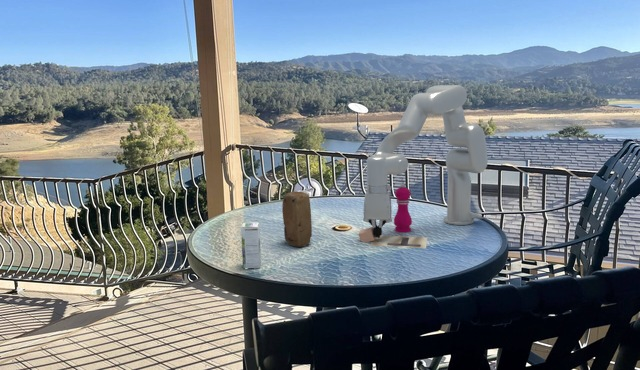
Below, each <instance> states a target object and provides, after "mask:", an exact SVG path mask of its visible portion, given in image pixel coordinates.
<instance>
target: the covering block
mask: <svg viewBox="0 0 640 370" xmlns="http://www.w3.org/2000/svg"><path fill="white" fill-rule="evenodd" d="M358 237H359V239H360V242H361V243H362V242H363V243H369V242H372V241H374V240H375V235H373V227H372V226H371V227H366V228H364V229H361V230H360V231H359V232H358Z"/></svg>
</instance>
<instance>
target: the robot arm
mask: <svg viewBox="0 0 640 370" xmlns="http://www.w3.org/2000/svg"><path fill="white" fill-rule="evenodd" d="M467 98H468V93H467V90H466V88H465V87H463V86H462V85H459V84H448V85H446V84H444V85H443V84H442V85H433V86H430V87H429V88H427V90H426V91H425V92H420V93H419V92H418V93H416V94H414V95H413V96H412V97H411V99H410V100H409V103H408V105H407V107H406V109H405V111H404V113H403V115H402V118H401V119H400V121H399V123H398V125H397V127H395V128H394V129H393V130H391V132H390V133H389V134H387V135H386V136H385V137H384V138H383V140H382V141H381V142H380V144H379V146H378V147H377V150H376V152H375V154H374V155H370V156H369V157H367V159H366V192H365V194H364V199H363V201H364V202H363V219H362V221H363V222H365V223H369V224H370V225H371V227H373V235H375V238H379V237H380V235H383V226H384V225H385V224H389V223H392V221H393V219H392V198H391V193H390V191H392V186H390V185H388V175H394V176H395V175H397V176H398V175H401V174H404V173H405V172H406V171H407V170H408V168H409V161H408V159H407V157H406V156H404V155H402V154H399V153H394V152H395V150H396V149H397V148H398V147H400V146H401V145H403V144H405V143H407V142H409V141H411V140H414V139H416V138H417V137H419V136H420V133H421V132H422V131H421V130H422V129H423V126H424V125H425V122H426V120H427V119H428V116H442V120H443V121H442V122H443V127H444V135H445V139H446V142H447V144H448V145H450V146H452V147H455V148H452V149H451V148H450V150H449V151H448V152H447V153H446V156H445V165H446V173H447V201H446V203H447V204H446V205H447V207H446V208H447V209H446V213H447V214H446V216H444V217H443V219H442V220H443V222H444V223H445V224H449V225H455V226H467V225H472V224H474V222H475V219H477V220H479V219H482V218H483V217H482V213H477V212H476V213H475V212H474V213H473V212H472V210H471V206H472V205H471V202H472V201H471V198H472V196H471V195H472V179H471V176H470V174H481V173H483V172H485V171H486V169H487V166H488V161H489V158H488V150H487V142H486V135H485V132H484V129H483V128H482V126H480V124H479V125H478V124H477V123H476V124H475V123H468V122H467V121H466V116H465V111H464V108H463V105H464V104H465V102H466V101H467ZM456 147H457V148H456ZM378 220H379V222H378V224H377V221H378Z"/></svg>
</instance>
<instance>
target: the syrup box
mask: <svg viewBox="0 0 640 370" xmlns="http://www.w3.org/2000/svg"><path fill="white" fill-rule="evenodd" d="M240 231H241V233H240V236H241V251H242V252H241V253H242V255H241V256H242V269H243V268H254V269H261V263H262V260H261V259H262V258H261V257H262V256H261V252H262V251H261V233H260V223H259V222H257V221H254V222H253V221H251V222H250V221H249V222H244V223H242V225H241V228H240Z"/></svg>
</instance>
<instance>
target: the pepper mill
mask: <svg viewBox="0 0 640 370" xmlns="http://www.w3.org/2000/svg"><path fill="white" fill-rule="evenodd" d="M394 195H395V197H396V204H397V211H396V214H395V216H394V218H393V224H394V226H395V228H394V231H395V232H397V233H410V232H412V231H411V230H412V228H411V226H412V225H413V221H412V220H413V219H412V216H411V214H410V212H409V203H410V197H411V190H410V189H409V188H407V187H406V184H405V183H401V184H400V187H399V188H397V189H396V190H395V193H394Z"/></svg>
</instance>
